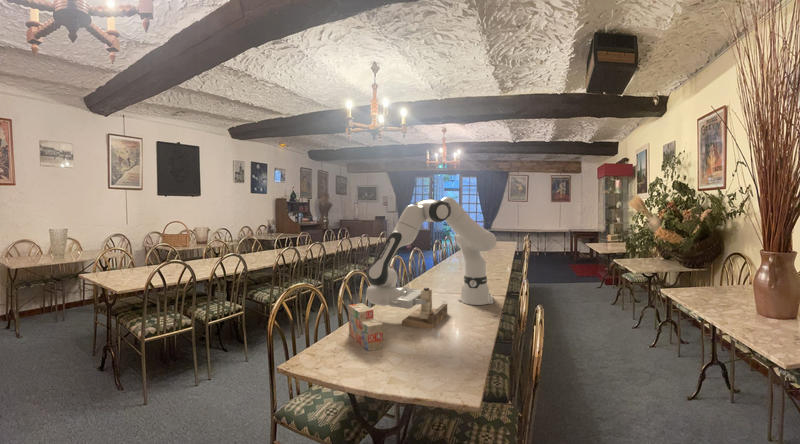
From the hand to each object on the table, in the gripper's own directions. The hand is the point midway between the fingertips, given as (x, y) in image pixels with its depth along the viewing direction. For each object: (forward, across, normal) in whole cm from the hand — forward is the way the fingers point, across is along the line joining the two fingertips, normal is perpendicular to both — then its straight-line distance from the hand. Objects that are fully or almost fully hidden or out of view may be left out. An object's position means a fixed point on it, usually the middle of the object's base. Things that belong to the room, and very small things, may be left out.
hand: (428, 300), depth 163 cm
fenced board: (-4, +6, +11) cm, 13 cm away
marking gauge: (-1, 0, +8) cm, 8 cm away
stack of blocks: (-17, -27, +11) cm, 34 cm away
